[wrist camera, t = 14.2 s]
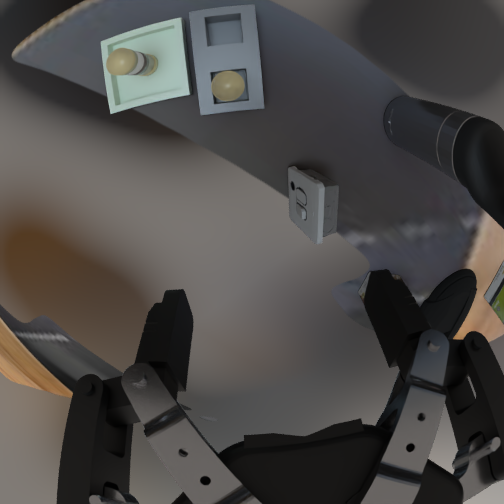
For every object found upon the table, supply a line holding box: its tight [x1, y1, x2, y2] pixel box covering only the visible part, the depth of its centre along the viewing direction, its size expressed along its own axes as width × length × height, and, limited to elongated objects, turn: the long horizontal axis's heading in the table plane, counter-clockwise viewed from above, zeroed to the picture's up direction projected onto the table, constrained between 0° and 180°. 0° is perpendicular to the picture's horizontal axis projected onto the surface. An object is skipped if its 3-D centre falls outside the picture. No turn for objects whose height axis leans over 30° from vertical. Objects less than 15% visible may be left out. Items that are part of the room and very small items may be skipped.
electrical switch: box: [288, 166, 339, 244], centre depth 39 cm, size 9×5×9 cm, turn 5°
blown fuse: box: [106, 48, 158, 76], centre depth 25 cm, size 3×3×10 cm
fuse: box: [211, 71, 245, 101], centre depth 28 cm, size 3×3×10 cm
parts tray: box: [101, 18, 193, 114], centre depth 29 cm, size 12×12×2 cm
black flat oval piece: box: [420, 269, 477, 339], centre depth 65 cm, size 25×41×5 cm, turn 7°
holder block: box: [189, 5, 264, 115], centre depth 28 cm, size 8×15×5 cm, turn 5°
